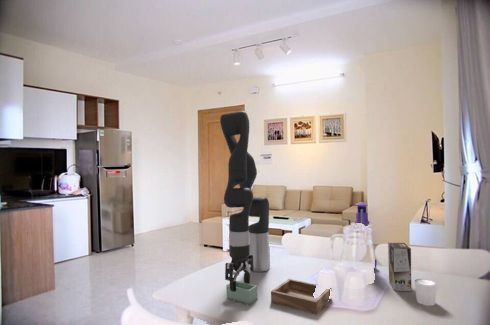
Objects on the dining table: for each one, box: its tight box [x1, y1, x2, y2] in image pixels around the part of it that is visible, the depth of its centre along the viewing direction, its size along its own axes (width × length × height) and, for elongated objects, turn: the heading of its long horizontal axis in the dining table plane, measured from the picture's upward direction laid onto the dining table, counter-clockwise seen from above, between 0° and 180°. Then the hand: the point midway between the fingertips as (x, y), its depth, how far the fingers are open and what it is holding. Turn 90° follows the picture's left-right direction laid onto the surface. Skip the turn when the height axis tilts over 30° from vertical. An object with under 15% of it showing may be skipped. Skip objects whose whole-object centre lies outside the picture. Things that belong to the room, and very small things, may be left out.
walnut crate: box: [270, 278, 332, 315], centre depth 119 cm, size 14×17×4 cm
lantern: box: [354, 201, 378, 269], centre depth 151 cm, size 13×12×30 cm
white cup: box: [414, 278, 438, 307], centre depth 115 cm, size 7×7×7 cm
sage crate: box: [225, 280, 259, 306], centre depth 121 cm, size 5×10×5 cm, turn 55°
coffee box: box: [387, 242, 412, 292], centre depth 129 cm, size 9×6×16 cm
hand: (240, 287), depth 121 cm, fingers open, 8 cm apart
